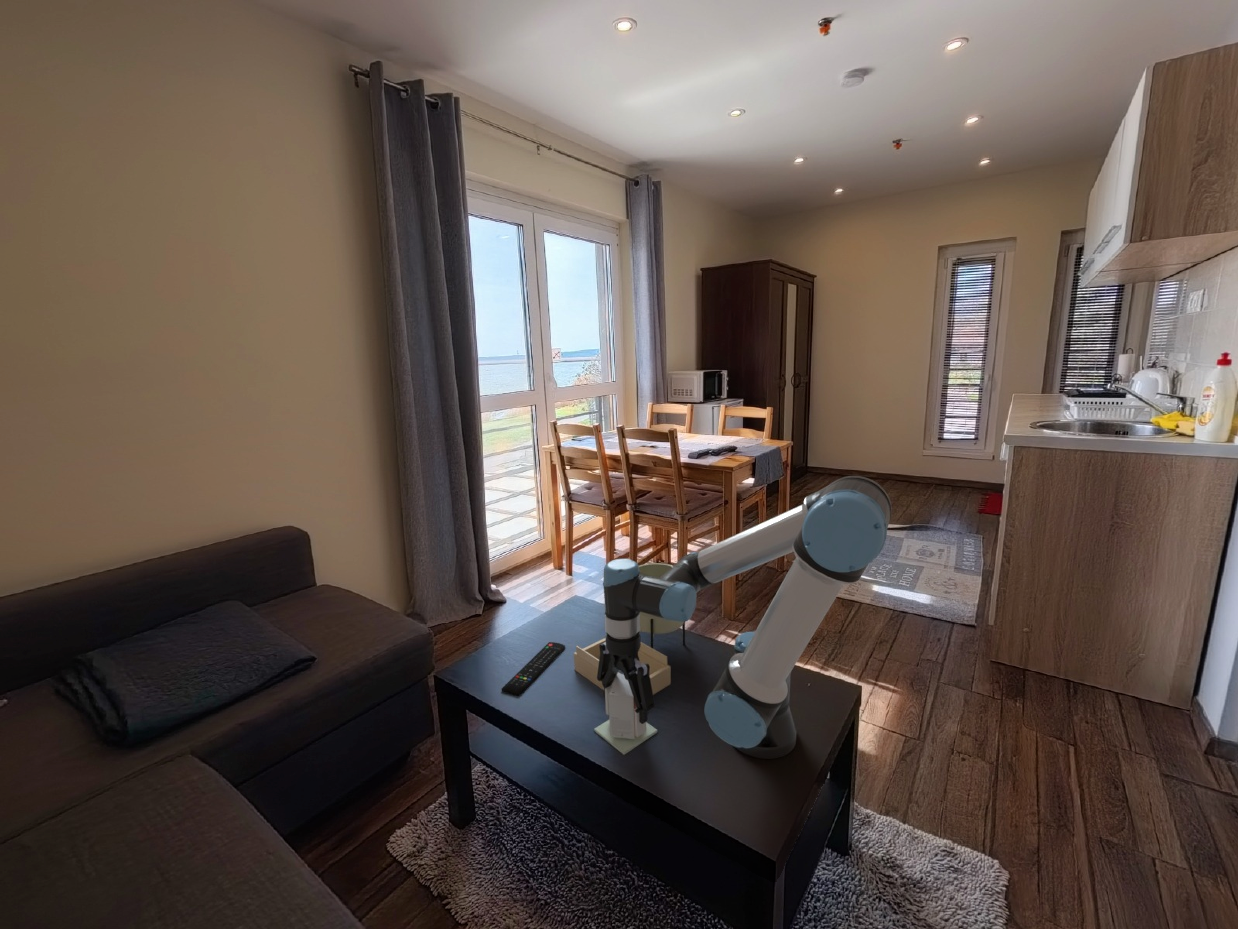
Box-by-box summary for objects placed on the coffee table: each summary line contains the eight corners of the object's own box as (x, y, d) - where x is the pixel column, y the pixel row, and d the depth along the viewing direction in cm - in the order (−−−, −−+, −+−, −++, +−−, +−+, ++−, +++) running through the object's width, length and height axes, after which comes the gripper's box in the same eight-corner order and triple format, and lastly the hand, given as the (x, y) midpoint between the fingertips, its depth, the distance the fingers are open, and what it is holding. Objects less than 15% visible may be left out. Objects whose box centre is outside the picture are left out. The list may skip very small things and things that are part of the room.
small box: (634, 740, 117) (633, 697, 115) (609, 737, 119) (607, 694, 116) (640, 716, 125) (639, 675, 123) (617, 713, 126) (615, 672, 124)
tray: (670, 684, 139) (670, 657, 137) (630, 709, 130) (629, 681, 128) (614, 649, 155) (613, 626, 153) (574, 669, 146) (573, 644, 144)
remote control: (501, 693, 138) (501, 688, 137) (550, 645, 159) (550, 641, 159) (519, 698, 136) (519, 693, 135) (566, 649, 157) (566, 644, 157)
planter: (652, 629, 165) (651, 558, 160) (695, 648, 155) (695, 572, 150) (617, 649, 155) (615, 574, 150) (660, 671, 144) (659, 591, 139)
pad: (657, 732, 122) (657, 729, 122) (624, 755, 115) (623, 752, 115) (627, 710, 129) (627, 708, 129) (594, 731, 123) (594, 728, 123)
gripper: (672, 643, 111) (673, 739, 116) (603, 607, 127) (607, 693, 132) (645, 658, 106) (647, 757, 111) (578, 618, 122) (582, 707, 127)
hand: (625, 722), depth 122 cm, fingers closed on small box, 9 cm apart
